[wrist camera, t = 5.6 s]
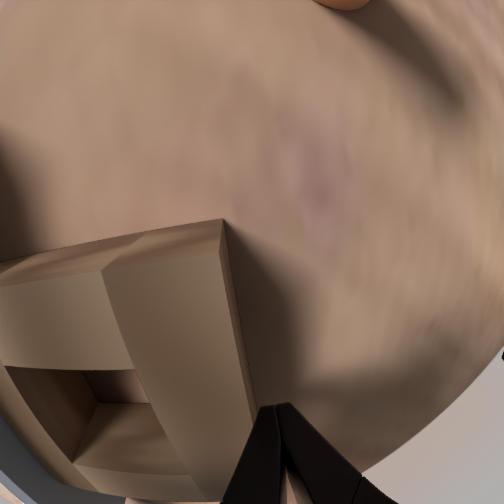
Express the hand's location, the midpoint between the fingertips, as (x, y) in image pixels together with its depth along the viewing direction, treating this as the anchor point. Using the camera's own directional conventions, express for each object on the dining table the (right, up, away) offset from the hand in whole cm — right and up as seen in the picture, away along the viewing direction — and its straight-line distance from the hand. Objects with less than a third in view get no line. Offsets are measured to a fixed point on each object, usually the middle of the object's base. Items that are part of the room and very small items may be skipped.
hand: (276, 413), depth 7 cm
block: (-6, 0, +3) cm, 7 cm away
